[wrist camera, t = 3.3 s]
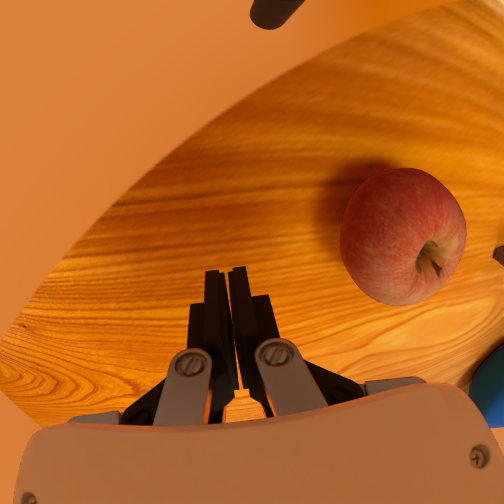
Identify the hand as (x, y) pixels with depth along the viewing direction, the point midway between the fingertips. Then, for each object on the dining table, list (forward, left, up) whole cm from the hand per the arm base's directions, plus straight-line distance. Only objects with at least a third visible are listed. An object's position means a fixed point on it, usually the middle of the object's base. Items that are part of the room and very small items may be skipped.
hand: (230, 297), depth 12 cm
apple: (0, +10, -7) cm, 12 cm away
